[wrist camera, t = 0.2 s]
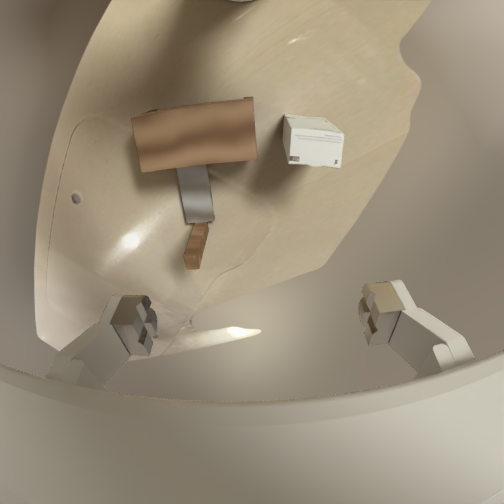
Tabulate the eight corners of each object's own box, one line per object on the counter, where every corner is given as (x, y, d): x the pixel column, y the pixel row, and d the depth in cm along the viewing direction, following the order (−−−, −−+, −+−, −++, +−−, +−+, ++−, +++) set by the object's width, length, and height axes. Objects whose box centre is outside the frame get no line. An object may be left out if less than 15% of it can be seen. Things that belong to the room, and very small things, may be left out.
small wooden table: (149, 110, 48) (131, 118, 40) (252, 96, 47) (252, 100, 40) (157, 157, 54) (141, 172, 46) (256, 146, 53) (257, 160, 45)
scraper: (216, 229, 64) (208, 268, 52) (190, 231, 64) (177, 270, 52) (205, 153, 54) (191, 177, 42) (176, 157, 54) (155, 181, 42)
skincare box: (324, 117, 49) (348, 132, 37) (321, 146, 53) (343, 170, 40) (281, 113, 49) (291, 126, 37) (279, 143, 53) (288, 165, 40)
